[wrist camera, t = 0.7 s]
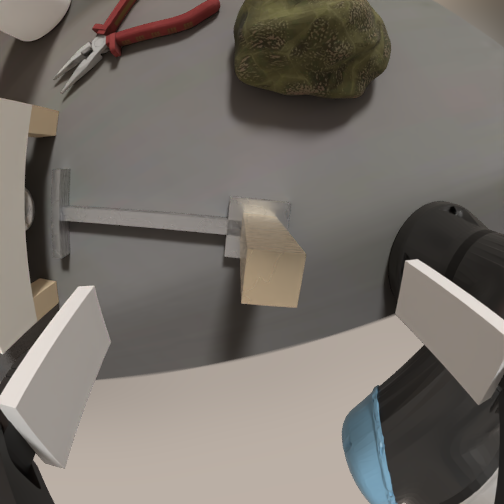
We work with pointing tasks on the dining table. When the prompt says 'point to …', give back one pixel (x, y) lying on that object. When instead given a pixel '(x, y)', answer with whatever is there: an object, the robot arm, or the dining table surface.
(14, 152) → the cabinet
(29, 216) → the steel disc
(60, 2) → the wine bottle
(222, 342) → the dining table surface
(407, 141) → the dining table surface
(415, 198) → the dining table surface
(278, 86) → the decorative rock
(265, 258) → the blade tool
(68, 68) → the pliers
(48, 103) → the dining table surface
